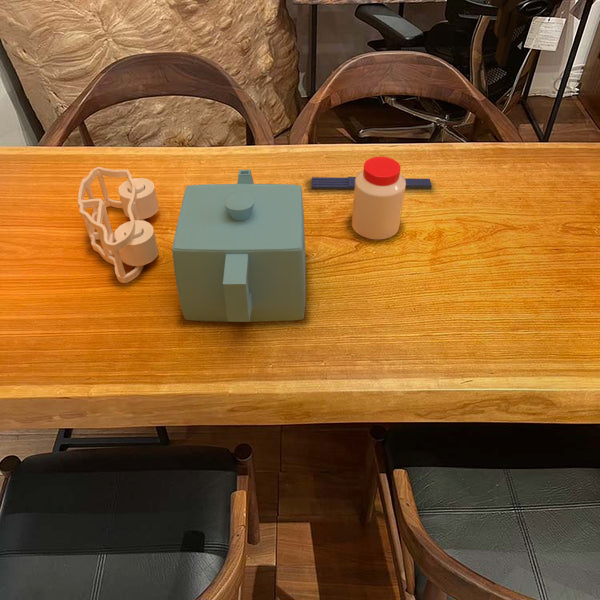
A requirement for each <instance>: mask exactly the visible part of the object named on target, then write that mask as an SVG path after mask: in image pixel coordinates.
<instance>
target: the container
mask: <svg viewBox="0 0 600 600" xmlns="http://www.w3.org/2000/svg"><path fill="white" fill-rule="evenodd" d="M237 177H238V178H237V183H211V184H210V183H207V184H205V183H204V184H190V185H186V186H185V188H184V193H183V197H182V202H181V206H180V210H179V215H178V219H177V223H176V228H175V233H174V237H173V242H172V248H171V250H172V251H171V252H172V263H173V269H174V278H175V285H176V290H177V296H178V302H179V306H180V310H181V313H182V315H183V318H184V320H185V321H190V322H191V321H193V322H216V323H217V322H220V323H221V322H222V323H224V322H225V323H257V322H258V323H259V322H260V323H263V322H292V321H302V320H304V317H305V311H306V289H307V287H306V285H307V283H306V280H307V279H306V275H307V273H306V269H307V268H306V267H307V266H306V233H305V213H304V212H305V211H304V199H303V188H302V185H300V184H287V183H254V179H253V175H252V169H239V170H238V174H237Z"/></svg>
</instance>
